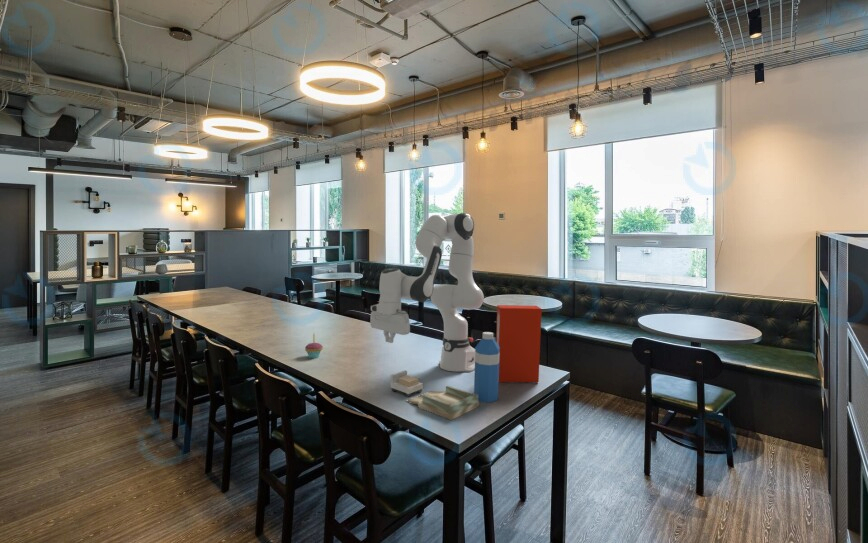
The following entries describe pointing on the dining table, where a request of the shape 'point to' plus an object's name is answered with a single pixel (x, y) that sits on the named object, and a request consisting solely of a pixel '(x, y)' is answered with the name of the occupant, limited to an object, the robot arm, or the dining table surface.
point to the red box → (518, 342)
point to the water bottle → (487, 368)
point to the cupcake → (313, 349)
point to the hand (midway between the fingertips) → (389, 342)
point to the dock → (447, 402)
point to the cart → (405, 383)
